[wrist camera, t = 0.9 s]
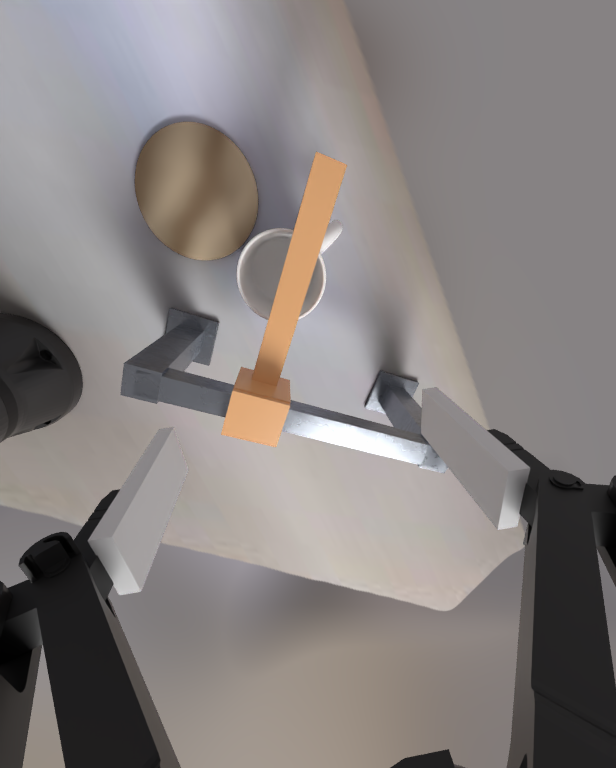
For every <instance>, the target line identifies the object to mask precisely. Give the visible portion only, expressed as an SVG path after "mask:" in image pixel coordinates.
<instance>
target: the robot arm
mask: <svg viewBox="0 0 616 768" xmlns="http://www.w3.org/2000/svg"><path fill="white" fill-rule="evenodd" d="M82 387H83V382H82V375H81V371H80V368H79V365H78V363H77V361H76V359H75V357H74V356H73V354H72V353H71V351H70V350H69V348H68V347H67V346H66V345H65V344H64V343H63V342H62V341H61V340H60V339H59V338H58V337H57V336H56V335H55V334H53V333H52V332H51V331H49V330H48V329H46V328H45V327H43V326H41V325H40V324H38V323H36V322H33V321H31V320H29V319H26V318H23V317H20V316H16V315H11V314H3V313H0V442H2V441H3V440H5V439H6V438H9V437H12V436H15V435H19V434H22V433H26V432H29V431H32V430H35V429H39V428H43V427H46V426H48V425H51V424H53V423H55V422H56V421H58V420H60V419H61V418H62V417H64V416H65V415H66V414H68V413H69V412H70V411H71V410H72V409H73V408H74V407H75V406H76V404H77V403H78V401H79V399H80V397H81V393H82ZM421 434H422V435H423V436H424V438H425V439H426V440H427V441H428V443H429V444H430V445H431V446H432V448H433V449H434V450H435V451H436V453H437V454H438V455H439V457H440V458H441V459H442V460H443V462H444V463H445V464H446V465H447V467H448V468H449V469H450V470H451V472H452V473H453V474H454V475H455V477H456V478H457V479H458V481H459V482H460V483H461V484H462V486H463V487H464V488H465V489H466V491H467V492H468V493H469V494H470V496H471V497H472V498H473V499H474V501H475V502H476V503H477V505H478V506H479V507H480V508H481V510H482V511H483V512H484V513H485V515H486V516H487V517H488V518H489V520H490V521H491V522H492V524H493V525H494V526H495V527H496V529H497V530H500V529H506V528H512V527H517V526H518V521H519V517H520V515H521V516H522V517H523V518H524V519H525V520H526V521H527V522H528V525H527V529H526V534H525V538H524V542H523V544H524V545H525V556H524V570H523V583H522V597H521V610H520V624H519V639H518V651H517V666H516V678H515V693H514V705H513V720H512V732H511V744H510V751H509V757H508V763H507V768H616V686H615V679H614V671H613V664H612V657H611V650H610V644H609V643H610V642H609V635H608V628H607V621H606V613H605V606H604V599H603V592H602V586H601V577H600V570H599V564H598V556H597V550H598V552H599V554H600V556H601V558H602V560H603V562H604V564H605V566H606V568H607V570H608V572H609V574H610V576H611V578H612V580H613V582H614V584H615V586H616V476H614V477H613V478H612V480H611V483H610V485H596V484H585V483H584V482H583V481H582V480H581V479H580V478H578V477H576V476H574V475H572V474H569V473H566V472H563V471H557V470H550V469H549V468H548V467H546V466H545V465H544V464H543V463H541V462H540V461H539V460H538V459H536V458H535V457H534V456H533V455H531V454H530V453H529V452H527V451H526V450H524V449H523V447H522V446H520V445H519V444H516V442H515V441H514V440H513V439H512V438H510V437H509V436H508V435H506V434H504V433H501V432H499V431H498V430H495V429H493V430H486V429H485V428H483V427H482V426H481V425H480V424H479V423H478V422H476V421H475V420H474V419H473V418H472V417H471V416H469V415H468V414H467V413H466V412H465V411H464V410H462V409H461V408H460V407H459V406H458V405H457V404H455V403H454V402H453V401H452V400H451V399H450V398H448V397H447V396H446V395H445V394H444V393H443V392H441V391H440V390H439V389H438V388H437V387H435V388H428V389H423V391H422V417H421ZM188 470H189V469H188V466H187V463H186V460H185V457H184V454H183V452H182V449H181V446H180V443H179V440H178V437H177V434H176V431H175V429H174V427H171V428H164V429H159V430H158V432H157V433H156V435H155V436H154V438H153V439H152V441H151V443H150V444H149V446H148V447H147V449H146V450H145V452H144V453H143V455H142V457H141V458H140V460H139V461H138V463H137V464H136V466H135V467H134V469H133V471H132V472H131V474H130V475H129V477H128V478H127V480H126V482H125V483H124V485H123V486H122V488H121V489H119V490H113V491H111V492H110V493H109V494H108V495H107V496H106V497H105V498H103V499H102V500H101V502H100V503H99V504H98V506H97V507H96V509H95V510H94V513H92V515H91V516H90V517H89V519H88V521H87V522H86V523H85V525H84V526H83V528H82V529H81V531H80V532H79V533H78V535H77V536H76V538H75V539H74V541H73V539H72V537H71V536H70V535H69V534H68V533H66V532H59V533H55V534H51V535H49V536H47V537H45V538H43V539H41V540H40V541H38V542H37V543H35V544H34V545H32V546H31V547H30V548H29V549H28V550H27V551H26V552H25V553H24V554H23V556H22V558H21V559H20V562H19V567H20V568H21V570H22V571H23V572H24V574H25V575H26V576H27V578H28V579H29V580H26V581H24V582H22V583H19V584H17V585H14V586H12V587H9V588H7V587H6V586H5V585H4V583H2V582H1V581H0V768H22V766H23V759H24V753H25V746H26V741H27V735H28V728H29V722H30V716H31V710H32V704H33V697H34V692H35V685H36V679H37V673H38V667H39V661H40V654H41V648H42V645H43V647H44V652H45V658H46V663H47V669H48V674H49V680H50V685H51V691H52V696H53V702H54V707H55V713H56V718H57V724H58V729H59V735H60V740H61V746H62V751H63V757H64V762H65V768H181V767H180V764H179V762H178V760H177V757H176V755H175V753H174V750H173V748H172V745H171V743H170V741H169V739H168V736H167V734H166V731H165V729H164V727H163V724H162V722H161V719H160V717H159V715H158V712H157V710H156V708H155V705H154V703H153V700H152V698H151V696H150V693H149V691H148V689H147V686H146V684H145V681H144V679H143V677H142V675H141V672H140V670H139V667H138V665H137V663H136V660H135V658H134V655H133V653H132V651H131V648H130V646H129V644H128V641H127V639H126V636H125V634H124V632H123V630H122V627H121V625H120V622H119V620H118V617H117V615H116V613H115V610H114V608H113V606H112V603H111V601H110V600H109V598H108V594H109V592H110V590H111V588H112V586H113V585H114V587H115V589H116V590H117V592H118V594H119V595H123V594H129V593H135V592H141V591H142V588H143V586H144V583H145V581H146V578H147V575H148V573H149V570H150V568H151V565H152V562H153V560H154V557H155V555H156V552H157V550H158V547H159V545H160V542H161V539H162V537H163V534H164V532H165V529H166V527H167V524H168V521H169V519H170V516H171V514H172V511H173V509H174V506H175V504H176V501H177V498H178V496H179V493H180V491H181V488H182V486H183V483H184V480H185V478H186V475H187V473H188ZM596 548H597V549H596ZM391 768H465V767H463V766H459V765H454V764H453V761H452V758H451V755H450V752H449V749H448V750H443V751H438V752H433V753H428V754H424V755H418V756H413V757H409V758H405V759H403V760H401V761H400V762H398V763H397V764H395V765H394V766H392V767H391Z"/></svg>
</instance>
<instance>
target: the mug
mask: <svg viewBox="0 0 616 768" xmlns="http://www.w3.org/2000/svg"><path fill="white" fill-rule="evenodd" d="M342 229H343V226H342V223H341V222H340V221H338V220H334V221H332V222H331V223H329V224H328V227H327V230H326V233H325V236H324V239H323V243H322V246H321V249H320V252H319V255H318V258H317V261H316V265H315V268H314V271H313V274H312V277H311V280H310V283H309V287H308V290H307V293H306V296H305V299H304V302H303V305H302V309H301V312H300V315H299V318H298V319H300V318H302V317H304V316H306V315H307V314H309V313H310V312H311V311H312V310H313V309H314V308H315V307H316V306H317V304H318V303H319V301H320V299H321V297H322V295H323V292H324V289H325V284H326V269H325V264H324V261H323V258H322V256H321V254H322V253H323V252H324V251H325V250H326V249H327V248H328V247H329V246H330V245H331V244H332V243H333V242H334V241H335V240H336V239H337V237H338V236H339V235H340V233H341V232H342ZM293 231H294V230H291V229H286V228H274V229H270V230H266V231H264V232H261V233H260V234H258V235H256V236H255V237H254V238H252V239H251V240H250V241H249V242H248V243H247V245H246V246H245V247H244V249H243V251H242V253H241V255H240V257H239V260H238V264H237V284H238V288H239V291H240V293H241V296H242V297H243V299H244V301H245V302H246V304H247V305H248V306H249V307H250V308H251V309H252V310H253V311H254V312H255V313H256V314H258V315H259V316H261V317H263V318H265V319H267V320H268V319H269V316H270V312H271V309H272V305H273V302H274V298H275V295H276V291H277V287H278V284H279V280H280V277H281V273H282V270H283V266H284V263H285V259H286V256H287V252H288V248H289V245H290V241H291V238H292V234H293Z"/></svg>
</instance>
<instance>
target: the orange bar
mask: <svg viewBox="0 0 616 768" xmlns="http://www.w3.org/2000/svg"><path fill="white" fill-rule="evenodd" d="M346 167H347V165H346V164H344V163H342V162H339V161H337V160H335V159H332V158H330V157H327V156H325V155H323V154H320V153H318V152H316V154H315V157H314V160H313V163H312V167H311V170H310V174H309V178H308V181H307V185H306V188H305V192H304V195H303V199H302V202H301V206H300V209H299V213H298V217H297V220H296V224H295V227H294V231H293V234H292V238H291V241H290V245H289V248H288V252H287V256H286V259H285V263H284V266H283V270H282V273H281V277H280V280H279V284H278V287H277V291H276V295H275V298H274V302H273V305H272V309H271V312H270V316H269V319H268V323H267V326H266V330H265V334H264V337H263V341H262V344H261V348H260V351H259V355H258V358H257V362H256V365H255V369H254V370H251V369H247V368H244V367H241V369H240V372H239V374H238V377H237V380H236V382H235V385H234V388H233V391H232V395H231V398H230V402H229V406H228V410H227V414H226V418H225V421H224V425H223V429H222V433H221V435H225V436H230V437H234V438H238V439H243V440H247V441H251V442H256V443H260V444H264V445H268V446H273V447H276V446H277V443H278V440H279V437H280V434H281V432H282V429H283V426H284V423H285V420H286V417H287V414H288V411H289V408H290V402H291V401H290V380H287V379H283V378H280V375H281V372H282V368H283V365H284V362H285V359H286V356H287V353H288V350H289V346H290V343H291V340H292V337H293V334H294V331H295V328H296V324H297V321H298V318H299V315H300V312H301V309H302V305H303V302H304V299H305V296H306V293H307V290H308V287H309V283H310V280H311V277H312V274H313V271H314V268H315V265H316V261H317V258H318V255H319V252H320V249H321V246H322V243H323V239H324V236H325V233H326V230H327V227H328V224H329V220H330V217H331V214H332V211H333V208H334V205H335V202H336V198H337V195H338V192H339V189H340V186H341V183H342V180H343V176H344V173H345V170H346Z"/></svg>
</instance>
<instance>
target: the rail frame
mask: <svg viewBox="0 0 616 768" xmlns="http://www.w3.org/2000/svg"><path fill="white" fill-rule="evenodd" d="M218 326H219V322H217V321H214V320H210V319H207V318H204V317H200V316H197V315H194V314H190V313H187V312H184V311H180V310H177V309H174V308H170V310H169V316H168V322H167V329H166V334H165V335H163V336H162V337H161V338H159V339H158V340H156V341H155V342H154V343H152V344H151V345H149V346H148V347H146V348H145V349H144V350H142V351H141V352H139V353H138V354H136V355H135V356H134V357H132V358H131V359H129V360H128V361H126V362H125V363H124V368H123V377H122V386H121V395H123V396H127V397H131V398H135V399H139V400H143V401H148V402H152V403H156V404H157V403H158V402H159V401H160V402H164V403H168V404H173V405H177V406H181V407H185V408H189V409H193V410H197V411H201V412H205V413H209V414H214V415H218V416H222V417H226V414H227V410H228V406H229V402H230V398H231V395H232V391H233V388H234V385H232V384H228V383H224V382H221V381H217V380H213V379H209V378H205V377H202V376H198V375H194V374H190V373H187V372H184V371H185V369H186V368H187V367H188V366H189V365H190V363H191V362H192V361H193V362H197V363H201V364H204V365H208V366H209V365H210V361H211V357H212V352H213V348H214V343H215V339H216V334H217V330H218ZM418 385H419V383H418V382H417V381H413V380H410V379H407V378H403V377H400V376H397V375H393V374H390V373H387V372H383V371H380V373H379V375H378V377H377V379H376V382H375V384H374V386H373V389H372V391H371V393H370V395H369V398H368V400H367V402H366V404H365V408H366V409H369V410H373V411H377V412H380V413H384V414H386V415H387V416H388V418H389V420H390V421H391V423H392V425H393V426H394V427H390V426H387V425H383V424H379V423H375V422H372V421H368V420H364V419H360V418H356V417H353V416H349V415H345V414H341V413H338V412H334V411H330V410H326V409H322V408H319V407H315V406H311V405H307V404H304V403H300V402H296V401H292V400H290V401H291V402H290V408H289V411H288V414H287V417H286V420H285V423H284V426H283V429H282V431H283V432H287V433H291V434H296V435H300V436H304V437H308V438H312V439H316V440H320V441H324V442H328V443H332V444H336V445H341V446H345V447H349V448H353V449H357V450H361V451H365V452H369V453H373V454H377V455H382V456H386V457H390V458H394V459H398V460H402V461H406V462H410V463H414V464H417V465H418V466H419V467H420V468H424V469H428V470H432V471H437V472H441V473H445V471H446V470H447V468H448V467H447V465H446V464H445V463H444V462H443V460H442V459H441V458H440V457H439V455H438V454H437V453H436V451H435V450H434V449H433V448H432V446H431V445H430V444H429V443H428V441H427V440H426V439H425V438H424V436H423V435H422V434H421V417H422V408H421V407H420V406H419V405H418V404H417V402H416V401H415V400H414V399H413V398H412V397H413V395H414V393H415V391H416V389H417V387H418Z"/></svg>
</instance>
